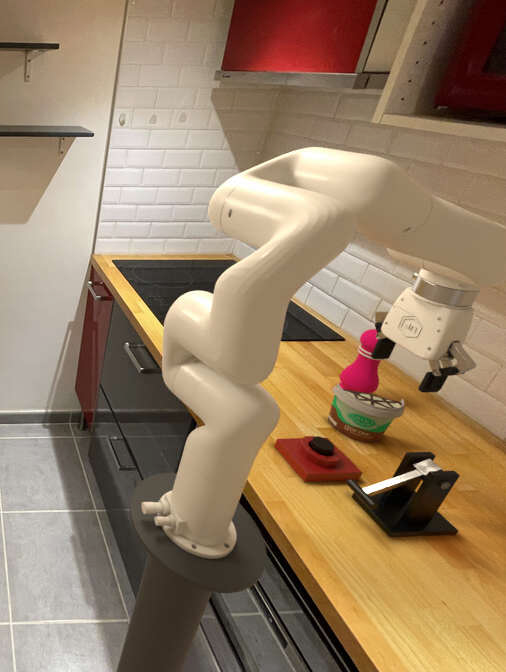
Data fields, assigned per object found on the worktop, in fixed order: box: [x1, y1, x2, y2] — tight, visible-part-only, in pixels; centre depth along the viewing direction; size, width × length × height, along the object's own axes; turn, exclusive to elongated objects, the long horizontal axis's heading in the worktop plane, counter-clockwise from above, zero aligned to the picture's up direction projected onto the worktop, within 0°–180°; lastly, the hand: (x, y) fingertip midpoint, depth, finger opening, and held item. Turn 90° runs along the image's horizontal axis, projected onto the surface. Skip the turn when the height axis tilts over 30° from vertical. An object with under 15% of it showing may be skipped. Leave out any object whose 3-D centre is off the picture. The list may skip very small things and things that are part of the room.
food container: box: [327, 383, 406, 444], centre depth 96 cm, size 12×6×10 cm, turn 65°
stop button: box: [310, 435, 335, 456], centre depth 89 cm, size 4×4×2 cm
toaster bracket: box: [351, 451, 461, 538], centre depth 77 cm, size 12×8×13 cm, turn 92°
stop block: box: [274, 435, 363, 483], centre depth 90 cm, size 11×9×4 cm
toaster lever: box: [345, 459, 444, 510], centre depth 76 cm, size 13×5×2 cm, turn 92°
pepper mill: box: [338, 328, 385, 394], centre depth 106 cm, size 7×7×20 cm
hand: (402, 373), depth 82 cm, fingers open, 9 cm apart
